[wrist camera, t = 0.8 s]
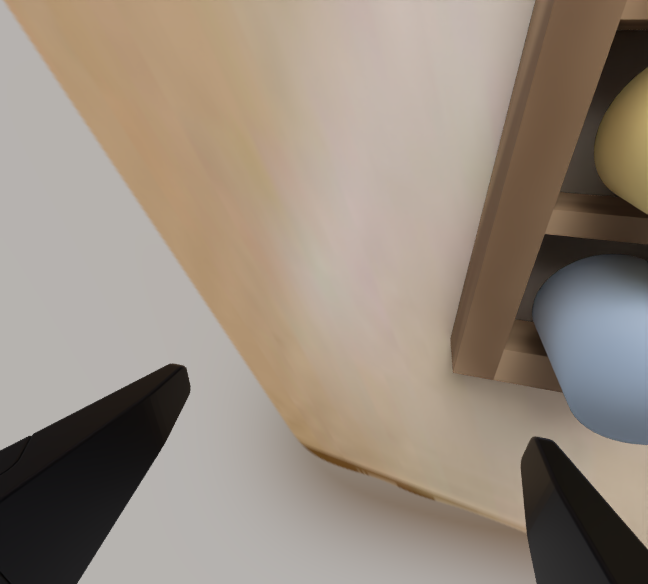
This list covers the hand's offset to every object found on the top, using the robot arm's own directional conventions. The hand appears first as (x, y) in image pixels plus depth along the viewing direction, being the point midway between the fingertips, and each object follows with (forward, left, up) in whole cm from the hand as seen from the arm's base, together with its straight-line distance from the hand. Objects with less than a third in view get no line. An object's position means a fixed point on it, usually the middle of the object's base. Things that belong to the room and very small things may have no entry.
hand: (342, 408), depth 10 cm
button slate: (-9, +1, -9) cm, 13 cm away
